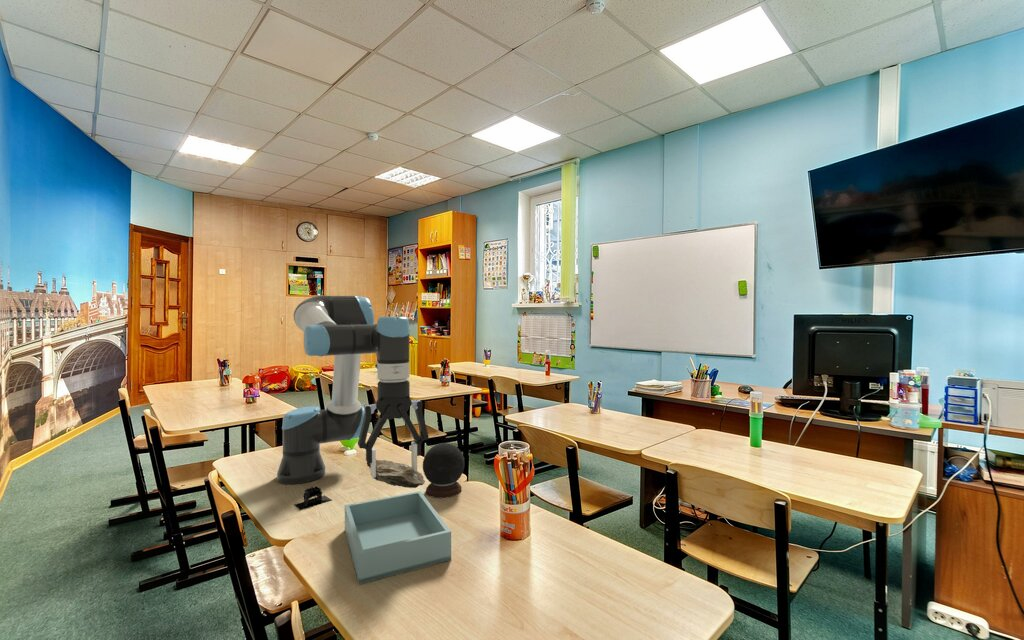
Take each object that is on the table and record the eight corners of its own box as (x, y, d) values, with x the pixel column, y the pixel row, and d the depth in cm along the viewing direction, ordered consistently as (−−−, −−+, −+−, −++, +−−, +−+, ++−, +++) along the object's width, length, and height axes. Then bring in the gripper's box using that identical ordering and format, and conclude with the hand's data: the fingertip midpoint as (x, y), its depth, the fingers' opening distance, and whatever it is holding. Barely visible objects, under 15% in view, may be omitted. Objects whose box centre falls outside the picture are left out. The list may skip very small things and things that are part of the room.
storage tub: (344, 530, 114) (344, 505, 114) (420, 514, 123) (420, 491, 123) (358, 584, 90) (358, 553, 90) (451, 559, 100) (451, 531, 100)
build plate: (295, 514, 124) (295, 498, 124) (286, 507, 129) (285, 491, 129) (338, 501, 133) (338, 486, 133) (328, 494, 138) (327, 480, 138)
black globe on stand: (414, 495, 136) (414, 447, 136) (437, 480, 148) (436, 436, 148) (451, 502, 131) (451, 452, 131) (471, 486, 143) (471, 440, 143)
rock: (438, 476, 109) (438, 462, 109) (415, 492, 99) (415, 477, 99) (375, 468, 115) (375, 454, 115) (348, 482, 105) (348, 468, 105)
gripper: (347, 385, 98) (348, 485, 98) (441, 378, 108) (442, 469, 108) (343, 381, 105) (344, 475, 105) (433, 375, 115) (433, 461, 115)
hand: (394, 472), depth 106 cm, fingers closed on rock, 9 cm apart
